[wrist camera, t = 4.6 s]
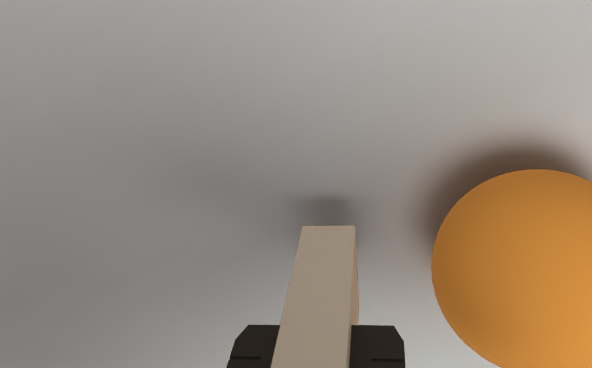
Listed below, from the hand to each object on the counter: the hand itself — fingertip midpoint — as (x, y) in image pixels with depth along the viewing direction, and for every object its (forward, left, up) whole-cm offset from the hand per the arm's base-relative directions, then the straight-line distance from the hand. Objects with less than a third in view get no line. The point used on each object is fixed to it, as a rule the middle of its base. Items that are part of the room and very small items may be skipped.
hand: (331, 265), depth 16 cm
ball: (+6, 0, 0) cm, 6 cm away
